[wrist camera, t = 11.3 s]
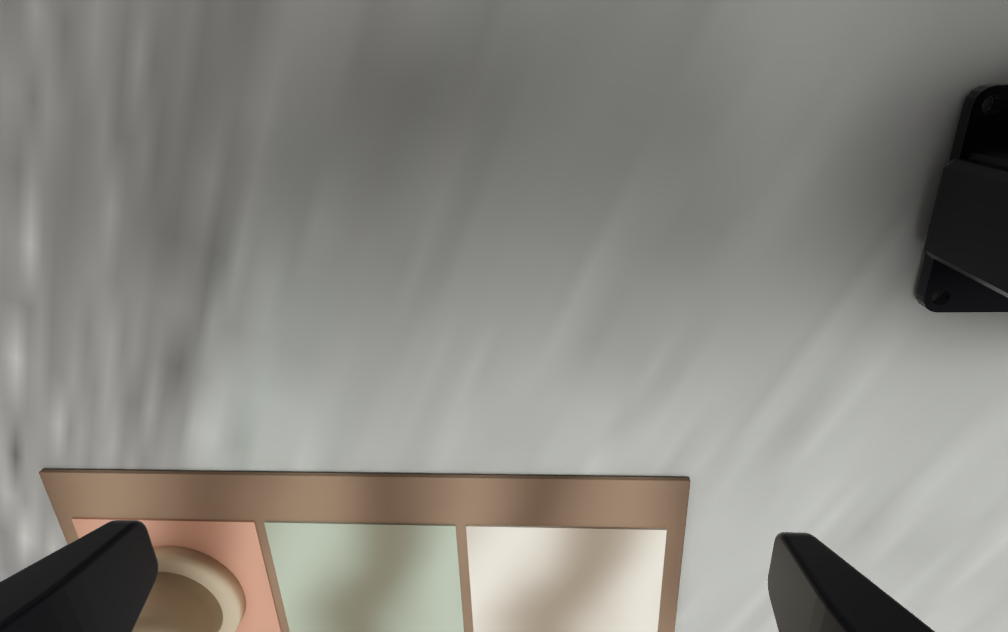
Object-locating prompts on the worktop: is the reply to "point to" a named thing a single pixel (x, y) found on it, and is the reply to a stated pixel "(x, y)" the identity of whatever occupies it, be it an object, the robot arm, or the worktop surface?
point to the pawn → (191, 594)
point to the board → (410, 545)
